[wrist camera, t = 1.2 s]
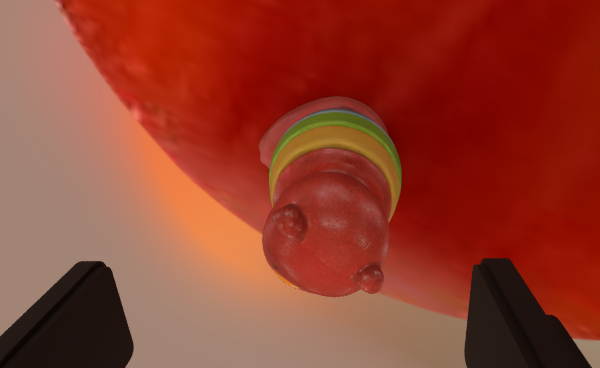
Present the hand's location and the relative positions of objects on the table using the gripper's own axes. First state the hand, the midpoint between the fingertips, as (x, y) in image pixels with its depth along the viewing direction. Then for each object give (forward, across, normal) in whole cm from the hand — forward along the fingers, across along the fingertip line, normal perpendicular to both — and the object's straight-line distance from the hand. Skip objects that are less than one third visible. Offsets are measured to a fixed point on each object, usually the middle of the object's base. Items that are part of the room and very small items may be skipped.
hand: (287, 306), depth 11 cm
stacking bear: (+26, 0, +4) cm, 26 cm away
